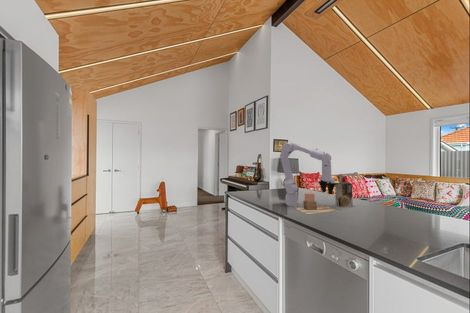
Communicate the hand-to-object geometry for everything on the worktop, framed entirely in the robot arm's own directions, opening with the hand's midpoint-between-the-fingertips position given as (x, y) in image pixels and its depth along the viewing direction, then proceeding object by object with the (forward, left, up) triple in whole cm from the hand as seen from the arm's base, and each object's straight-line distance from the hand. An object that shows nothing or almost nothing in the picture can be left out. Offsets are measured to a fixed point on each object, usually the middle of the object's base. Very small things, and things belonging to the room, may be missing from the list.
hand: (327, 193), depth 158 cm
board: (+2, -9, -10) cm, 14 cm away
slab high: (0, -12, -7) cm, 14 cm away
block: (0, -12, -4) cm, 13 cm away
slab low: (0, -12, -9) cm, 15 cm away
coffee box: (-2, +13, -11) cm, 17 cm away
